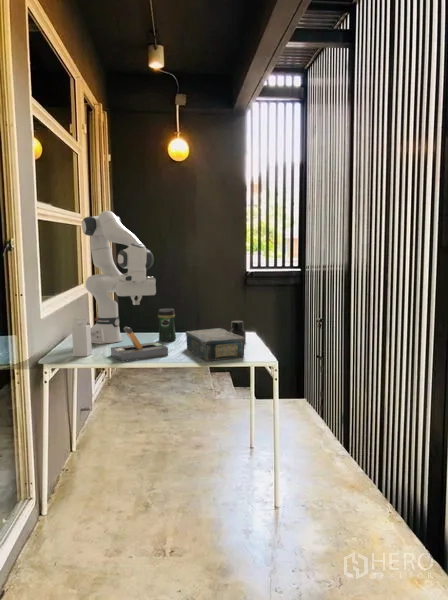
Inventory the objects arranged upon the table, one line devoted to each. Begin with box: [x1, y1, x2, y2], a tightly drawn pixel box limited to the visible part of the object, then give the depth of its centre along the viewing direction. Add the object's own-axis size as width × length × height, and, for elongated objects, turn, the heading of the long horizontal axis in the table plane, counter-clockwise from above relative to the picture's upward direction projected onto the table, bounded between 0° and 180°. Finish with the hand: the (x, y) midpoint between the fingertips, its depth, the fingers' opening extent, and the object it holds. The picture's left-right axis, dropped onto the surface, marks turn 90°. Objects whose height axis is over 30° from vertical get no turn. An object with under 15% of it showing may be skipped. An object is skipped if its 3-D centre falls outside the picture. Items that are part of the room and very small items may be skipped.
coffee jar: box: [157, 308, 177, 342], centre depth 274 cm, size 10×8×19 cm
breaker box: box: [110, 341, 169, 362], centre depth 237 cm, size 24×16×4 cm, turn 121°
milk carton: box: [71, 317, 93, 357], centre depth 239 cm, size 7×7×19 cm
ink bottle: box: [229, 320, 247, 343], centre depth 264 cm, size 10×9×12 cm
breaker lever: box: [123, 326, 142, 349], centre depth 235 cm, size 3×6×12 cm
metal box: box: [185, 327, 246, 362], centre depth 240 cm, size 21×32×10 cm, turn 22°
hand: (136, 304), depth 234 cm, fingers closed
